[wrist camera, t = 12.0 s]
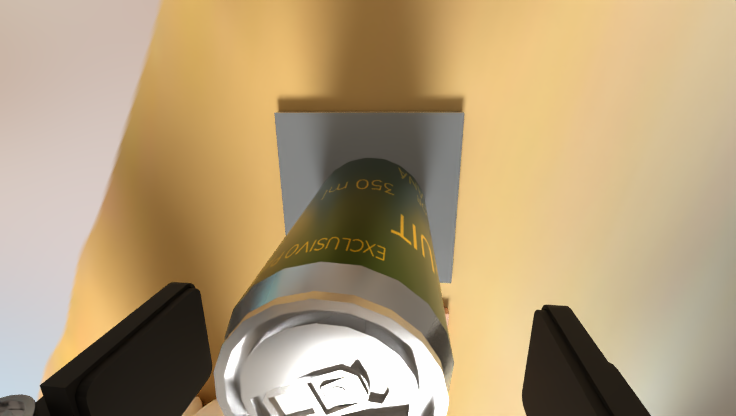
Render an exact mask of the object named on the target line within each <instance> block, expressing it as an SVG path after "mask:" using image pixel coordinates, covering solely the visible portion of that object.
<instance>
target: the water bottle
mask: <svg viewBox="0 0 736 416" xmlns="http://www.w3.org/2000/svg"><path fill="white" fill-rule="evenodd" d="M182 416H224V414H223V412H222V410H221V408H220V406H219V404H218V402H217V400H216V399H215V400H213V401H212V402H210V403H208V404H207V405H206V406H204V407H203V408H202V402H201V400H200V398H199V397H195V398H194V399H193V401H192V402H191V404H190V405H189V406H188V408H187V409H186V411H185V412H184V413H183V415H182Z"/></svg>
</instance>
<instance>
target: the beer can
mask: <svg viewBox="0 0 736 416" xmlns="http://www.w3.org/2000/svg"><path fill="white" fill-rule="evenodd" d="M453 366H454V361H453V355H452V349H451V344H450V338H449V333H448V327H447V321H446V316H445V310H444V305H443V299H442V293H441V288H440V282H439V277H438V271H437V265H436V260H435V254H434V249H433V243H432V237H431V232H430V226H429V221H428V215H427V209H426V205H425V200H424V195H423V191H422V190H421V188H420V186H419V185H418V183H417V181H416V180H415V178H414V177H413V176H412V175H411V174H410V173H408V172H407V171H406V170H405V169H404V168H403V167H401V166H400V165H397V164H395V163H392V162H390V161H388V160H385V159H378V158H362V159H358V160H354V161H349V162H348V163H346V164H344V165H343V166H341V167H339V168H338V169H336V170H335V171H334V172H333V173H332V174H331V175H330V177H329V178H328V179H327V180H326V181H325V183H324V184H323V185H322V187H321V188H320V189H319V191H318V192H317V194H316V195H315V196H314V198H313V199H312V201H311V202H310V203H309V205H308V206H307V208H306V209H305V210H304V212H303V213H302V215H301V216H300V217H299V219H298V220H297V221H296V223H295V224H294V226H293V227H292V228H291V230H290V231H289V233H288V234H287V235H286V237H285V238H284V240H283V241H282V242H281V244H280V245H279V247H278V248H277V249H276V251H275V252H274V253H273V255H272V256H271V258H270V259H269V260H268V262H267V263H266V265H265V266H264V267H263V269H262V270H261V272H260V273H259V274H258V276H257V277H256V279H255V280H254V281H253V283H252V284H251V286H250V287H249V288H248V290H247V291H246V292H245V294H244V295H243V297H242V298H241V299H240V301H239V302H238V304H237V305H236V306H235V308H234V309H233V312H232V315H231V319H230V322H229V325H228V328H227V331H226V335H225V341H224V343H223V344H222V347H221V350H220V353H219V356H218V360H217V363H216V366H215V369H214V380H215V390H216V400H217V402H218V404H219V406H220V408H221V410H222V412H223V414H224V416H446V413H447V408H448V402H449V398H448V392H449V387H450V382H451V377H452V371H453Z"/></svg>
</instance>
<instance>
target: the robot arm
mask: <svg viewBox="0 0 736 416" xmlns="http://www.w3.org/2000/svg"><path fill="white" fill-rule="evenodd" d="M211 371H212V360H211V354H210V348H209V342H208V336H207V330H206V324H205V318H204V312H203V306H202V300H201V294H200V291H199V290H198V289H196V288H195V286H194V285H193V284H191V283H177V282H172V283H170V284H168V285H167V286H165V287H164V288H163V289H162V290H160V291H159V292H158V293H157V294H155V295H154V296H153V297H151V298H150V299H149V300H148V301H146V302H145V303H144V304H143V305H141V306H140V307H139V308H137V309H136V310H135V311H134V312H132V313H131V314H130V315H129V316H127V317H126V318H125V319H124V320H122V321H121V322H120V323H118V324H117V325H116V326H115V327H113V328H112V329H111V330H110V331H108V332H107V333H106V334H105V335H103V336H102V337H101V338H99V339H98V340H97V341H96V342H94V343H93V344H92V345H91V346H89V347H88V348H87V349H85V350H84V351H83V352H82V353H80V354H79V355H78V356H77V357H75V358H74V359H73V360H72V361H70V362H69V363H68V364H66V365H65V366H64V367H63V368H61V369H60V370H59V371H58V372H56V373H55V374H54V375H52V376H51V377H50V378H49V379H47V380H46V381H45V382H44V383H42V384H41V385H40V387H41V390H42V393H43V397H42V398H40V399H39V400H38V401H37V402H36V403H35V400H34V399H33V398H32V397H30V396H27V395H10V396H6V397H3V398H0V416H182V415H183V413H184V412H185V411H186V409H187V408H188V406H189V405H190V404H191V402H192V401H193V399H194V398H195V397H196V395H197V394H198V392H199V391H200V390H201V388H202V387H203V385H204V384H205V383H206V381H207V380H208V378H209V377H210V374H211ZM522 401H523V406H524V410H525V412H526V415H527V416H651V415H650V414H649V412H648V411H647V409H646V408H645V407H644V405H643V404H642V403H641V401H640V400H639V398H638V397H637V396H636V394H635V393H634V391H633V390H632V389H631V387H630V386H629V385H628V383H627V382H626V380H625V379H624V378H623V376H622V375H621V373H620V372H619V371H618V369H617V368H616V367H615V366H614V365H613V364H611V363H609V362H608V361H607V359H606V358H605V357H604V355H603V354H602V352H601V351H600V349H599V348H598V347H597V345H596V344H595V342H594V341H593V340H592V338H591V337H590V335H589V334H588V333H587V331H586V330H585V328H584V327H583V325H582V324H581V323H580V321H579V320H578V318H577V317H576V316H575V314H574V313H573V311H572V310H571V309H570V308H569V307H568V306H557V305H544V306H543V307H542V310H536V311H535V313H534V318H533V325H532V331H531V338H530V344H529V351H528V357H527V364H526V370H525V377H524V383H523V390H522Z"/></svg>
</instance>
